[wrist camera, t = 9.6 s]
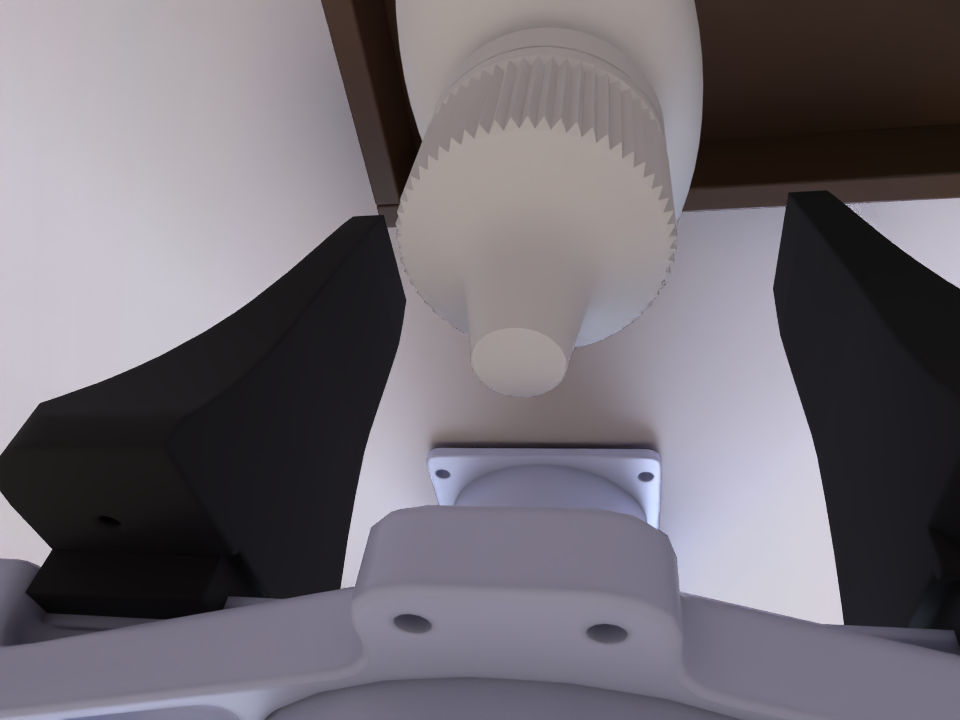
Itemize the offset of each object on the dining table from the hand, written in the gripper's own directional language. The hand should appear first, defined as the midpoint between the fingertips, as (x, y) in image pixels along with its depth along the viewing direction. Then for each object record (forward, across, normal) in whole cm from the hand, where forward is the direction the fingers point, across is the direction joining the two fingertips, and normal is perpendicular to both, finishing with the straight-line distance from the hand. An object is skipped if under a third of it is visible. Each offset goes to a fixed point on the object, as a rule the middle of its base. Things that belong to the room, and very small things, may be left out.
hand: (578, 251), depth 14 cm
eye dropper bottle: (+5, 0, -4) cm, 6 cm away
